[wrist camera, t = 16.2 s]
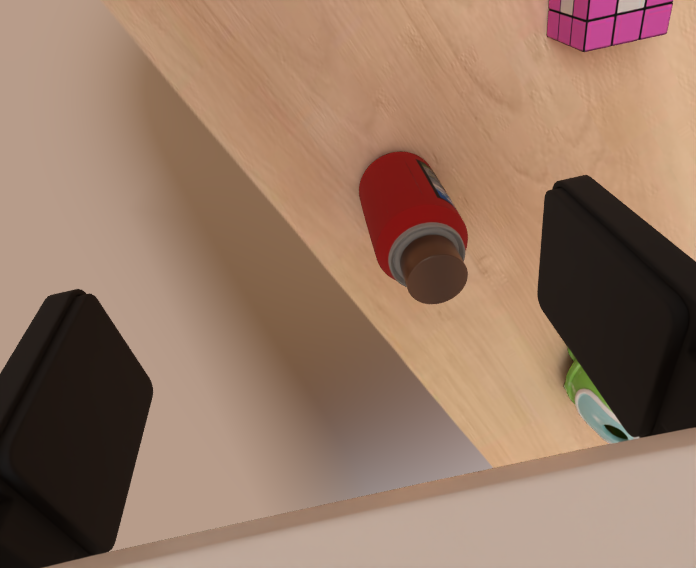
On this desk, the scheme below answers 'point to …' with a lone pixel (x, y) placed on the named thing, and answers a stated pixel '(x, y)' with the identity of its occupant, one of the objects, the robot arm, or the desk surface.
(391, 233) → the beverage can
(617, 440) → the turtle holder
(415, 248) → the dark brown cylinder
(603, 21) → the puzzle toy
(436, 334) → the desk surface
